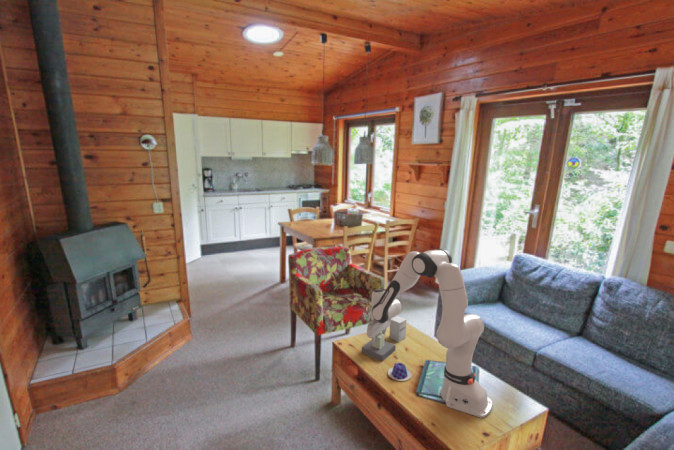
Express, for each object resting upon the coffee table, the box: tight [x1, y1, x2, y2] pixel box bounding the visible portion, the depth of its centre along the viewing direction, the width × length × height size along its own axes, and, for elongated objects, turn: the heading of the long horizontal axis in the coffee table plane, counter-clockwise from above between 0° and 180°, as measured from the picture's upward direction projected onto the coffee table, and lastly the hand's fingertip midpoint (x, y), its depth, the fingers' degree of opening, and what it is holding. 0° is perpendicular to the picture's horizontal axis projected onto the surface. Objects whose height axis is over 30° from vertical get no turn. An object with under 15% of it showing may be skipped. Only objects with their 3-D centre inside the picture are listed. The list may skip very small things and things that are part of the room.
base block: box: [361, 339, 396, 362], centre depth 199 cm, size 14×14×4 cm
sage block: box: [372, 332, 386, 349], centre depth 198 cm, size 5×5×7 cm
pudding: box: [387, 362, 412, 382], centre depth 178 cm, size 12×12×5 cm
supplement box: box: [389, 315, 407, 343], centre depth 212 cm, size 7×7×13 cm
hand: (378, 338), depth 198 cm, fingers open, 8 cm apart
